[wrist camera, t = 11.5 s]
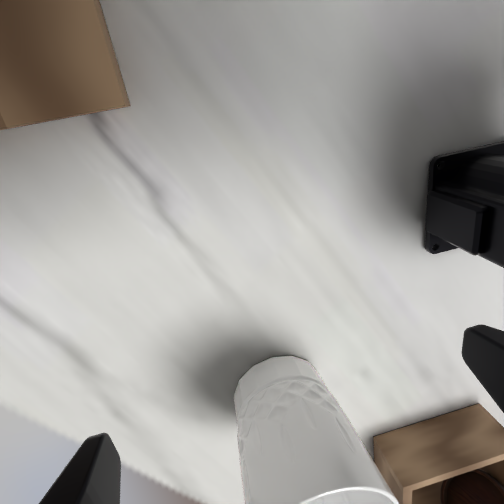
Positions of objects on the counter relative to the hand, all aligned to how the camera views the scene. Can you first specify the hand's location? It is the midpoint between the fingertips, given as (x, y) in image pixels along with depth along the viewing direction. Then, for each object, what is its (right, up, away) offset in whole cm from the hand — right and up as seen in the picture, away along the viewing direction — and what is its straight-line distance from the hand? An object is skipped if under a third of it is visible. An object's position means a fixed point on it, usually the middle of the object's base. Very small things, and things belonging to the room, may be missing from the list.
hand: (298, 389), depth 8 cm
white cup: (+1, -7, +18) cm, 19 cm away
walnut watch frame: (+16, -17, +25) cm, 34 cm away
